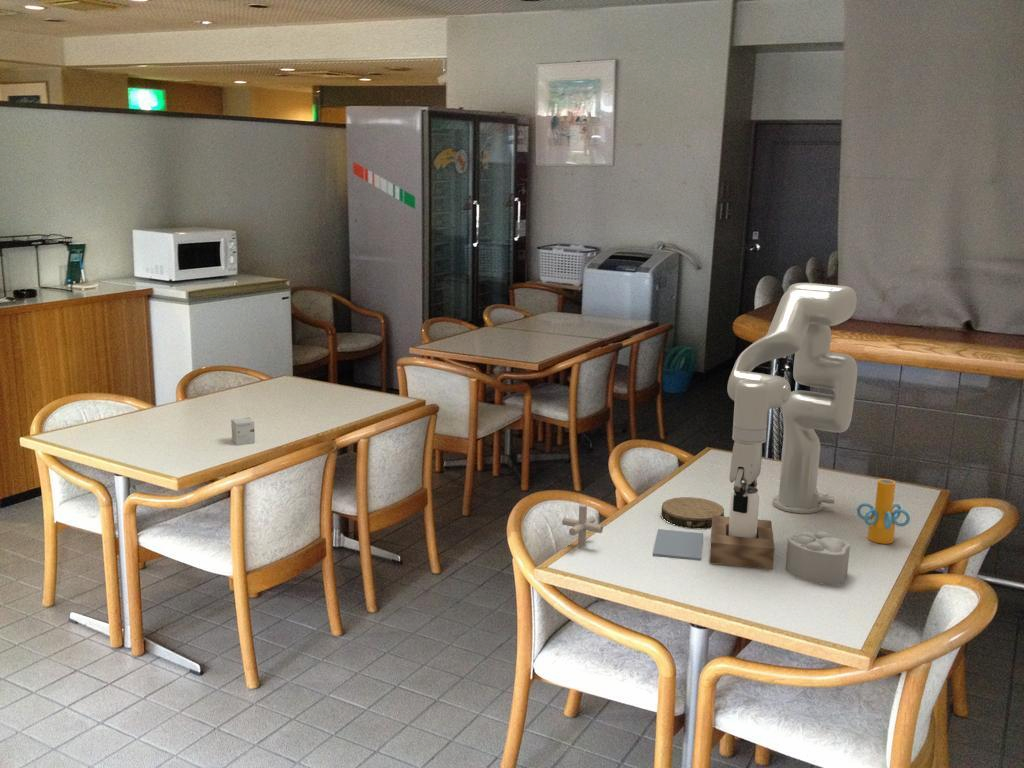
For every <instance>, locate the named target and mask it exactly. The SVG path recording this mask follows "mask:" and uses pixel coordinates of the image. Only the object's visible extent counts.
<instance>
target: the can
mask: <svg viewBox="0 0 1024 768" xmlns="http://www.w3.org/2000/svg"><path fill="white" fill-rule="evenodd" d="M741 487H742V488H743V489H744V488H745V486H741ZM732 489H733V490H732V491H731V494H730V501H729V502H730V504H729V517H730V518H729V536H737V537H748V538H756V536H757V524H758V520H759V507H760V494H759V492H758V491H759V489H758V487H756V488H755V487H752V486H748V491H747V496H748V505H747V512H746V513H740V512H735V511H733V499H734V489H735V488H734V487H733V488H732Z"/></svg>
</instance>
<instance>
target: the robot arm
mask: <svg viewBox="0 0 1024 768" xmlns="http://www.w3.org/2000/svg"><path fill="white" fill-rule="evenodd" d="M857 299H858V298H857V293H856V291H855V290H854V289H853V288H852V287H849V286H846V285H836V284H827V283H826V284H825V283H824V284H823V283H813V282H797V283H793V284H791V285H789V287H788V288H787V290H786V291H785V292H784V294H783V295H782V297H781V298H780V300H779V302H778V306H777V308H776V310H775V313H774V316H773V319H772V321H771V323H770V325H769V327H768V330H767V333H766V335H764V336H763V337H761V338H759V339H758V340H756V341H754V342H753V343H752V344H750V345H749V346H748V347H746V348H745V349H744V350H743V351H742V352H741V353H740V354H739V355H738V357H737V359H736V360H735V363H734V365H733V368H732V370H731V372H730V375H729V377H728V381H727V386H726V387H727V389H726V390H727V391H726V392H727V394H728V397H729V398H730V399H731V400H732V401H733V402H734V406H733V408H734V409H733V419H732V420H733V421H732V422H733V423H732V436H731V437H732V440H733V441H734V442H733V447H732V452H731V460H730V469H729V470H730V471H729V476H728V477H729V479H728V481H729V482H730V483H733V488H735V489H733V490H734V499H733V511H735V512H740V513H746V512H747V505H748V496H747V491H748V486H752V487H755V488H757V486H758V478H759V476H760V475H761V471H762V470H761V468H762V460H763V459H762V457H763V444H764V443H766V442H767V441H766V440H767V430H768V429H767V428H768V426H767V425H768V413H769V410H771V409H772V410H773V409H779V408H781V409H782V410H781V411H782V413H781V414H782V421H783V438H782V439H783V442H782V452H781V454H782V455H781V462H780V463H781V465H780V478H779V490H778V491H779V492H778V495H775V496H774V497H772V500H771V501H772V502H771V503H772V506H774V507H775V508H777V509H778V510H780V511H781V510H782V511H785V512H788V513H796V514H813V513H817V512H819V511H820V510H821V509H822V503H824V504H831V505H833V504H834V503H835V496H830V495H829V494H828V493H820V492H818V488H817V487H818V476H819V464H820V456H821V455H820V454H821V442H820V438H819V436H818V434H817V433H816V431H815V430H818V431H824V432H831V433H844V432H846V431H847V430H848V429H849V428H850V426H851V421H852V417H853V410H854V403H855V397H856V395H855V394H856V389H857V388H856V387H857V380H858V364H857V362H856V359H855V358H854V357H853V356H851V355H849V354H847V353H839V352H832V351H831V342H832V330H831V328H830V327H833V326H838V325H840V324H842V323H845V322H846V321H848V320H849V319H850V318H851V317H852V316H853V315H854V313H855V311H856V308H857V303H858V300H857ZM791 355H794V359H793V367H792V368H793V371H792V372H793V373H792V376H793V379H794V381H795V382H796V383H797V384H799V385H802V386H808V387H811V388H812V387H813V388H819V389H826V390H832V391H833V394H829V393H821V392H818V391H817V392H816V391H810V390H803V389H800V390H799V389H798V390H793V391H792V390H791V385H790V382H789V381H788V380H787V379H786V378H785V377H782V376H781V375H780V376H779V375H773V374H765V373H761V372H753V370H754V369H755V368H757V367H758V366H759V365H761V364H763V363H766V362H770V361H773V360H777V359H781V358H785V357H789V356H791ZM743 481H744V482H743ZM741 486H745V488H744V489H743V488H742V487H741Z"/></svg>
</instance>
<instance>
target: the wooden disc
mask: <svg viewBox="0 0 1024 768" xmlns="http://www.w3.org/2000/svg"><path fill="white" fill-rule="evenodd" d="M660 514H661V515H662V516H661V515H660V516H661V518H662V517H663V518H662V520H664V519H665V520H666V521H665V520H664V521H665V522H667V521H668V522H670V523H669V524H671V523H672V524H671V525H673V524H675V525H674V526H676V525H678V526H677V527H680V526H682V527H681V528H685V527H687V528H686V529H693V528H701V529H702V528H705V529H712V528H711V527H712V515H714V516H725V509H724V507H723V506H722V504H719V503H717V502H716V501H713V500H710V499H706V498H700V497H691V496H688V497H687V496H686V497H684V496H681V497H674V498H670V499H666V500H665V501H663V502H662V504H661V513H660ZM668 522H667V523H668ZM702 530H703V529H702Z"/></svg>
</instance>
